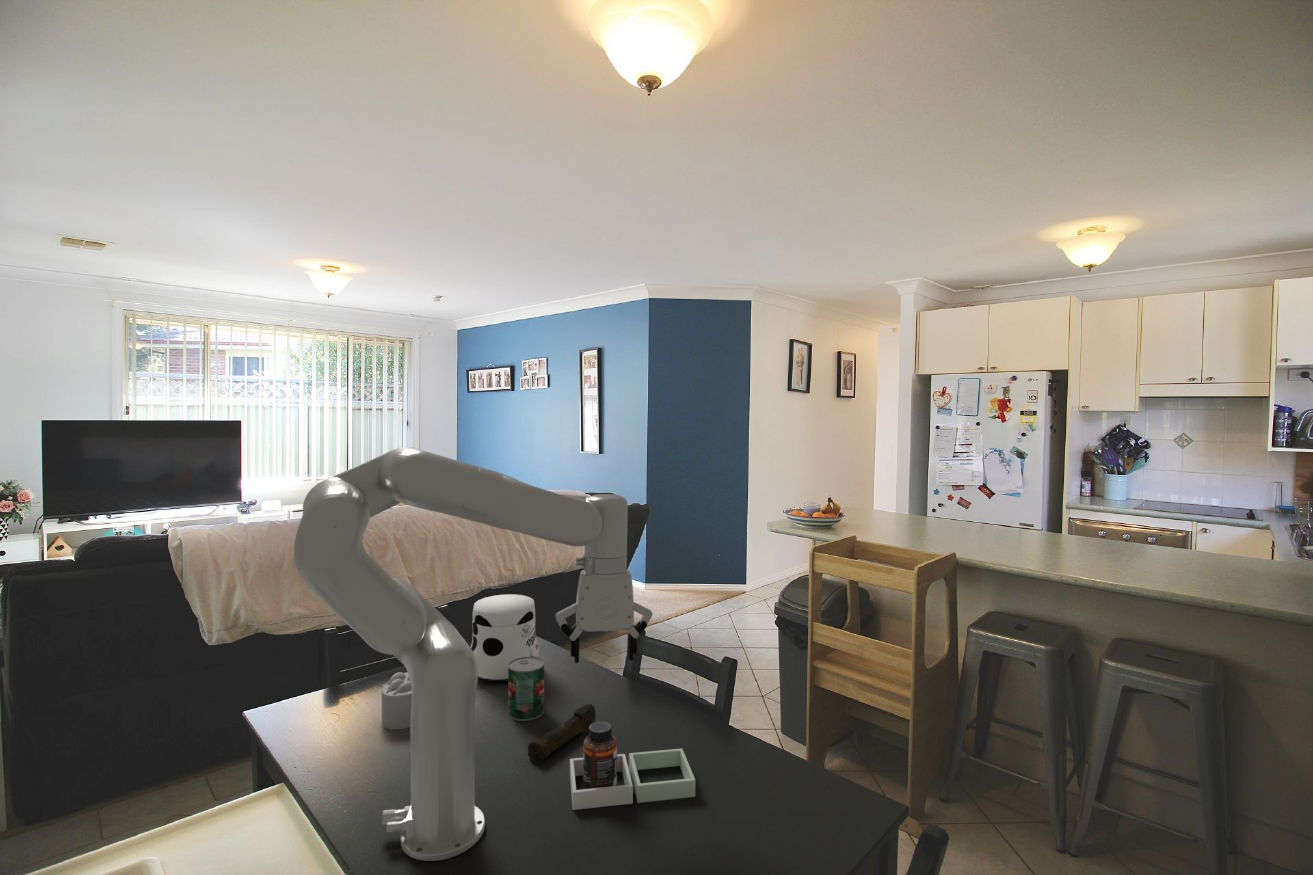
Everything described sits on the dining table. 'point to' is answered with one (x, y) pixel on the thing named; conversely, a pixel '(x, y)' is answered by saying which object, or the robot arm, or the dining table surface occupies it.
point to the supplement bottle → (600, 757)
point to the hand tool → (562, 733)
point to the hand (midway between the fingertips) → (603, 658)
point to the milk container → (502, 634)
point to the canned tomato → (526, 688)
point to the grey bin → (604, 794)
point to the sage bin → (662, 788)
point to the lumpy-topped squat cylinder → (397, 702)
